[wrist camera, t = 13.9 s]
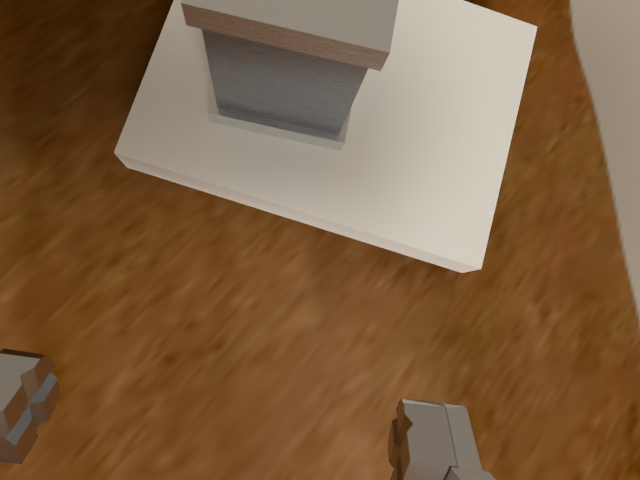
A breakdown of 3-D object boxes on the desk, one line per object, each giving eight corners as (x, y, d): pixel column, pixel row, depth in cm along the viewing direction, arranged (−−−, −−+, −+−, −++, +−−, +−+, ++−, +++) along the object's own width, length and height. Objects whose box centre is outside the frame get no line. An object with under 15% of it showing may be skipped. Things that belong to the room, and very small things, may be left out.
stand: (137, 179, 24) (113, 152, 20) (216, -30, 26) (209, -91, 22) (446, 276, 25) (481, 268, 21) (496, 68, 27) (537, 26, 23)
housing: (210, 122, 21) (180, 2, 13) (238, 3, 21) (226, -176, 14) (340, 151, 21) (389, 52, 13) (362, 33, 22) (419, -123, 14)
